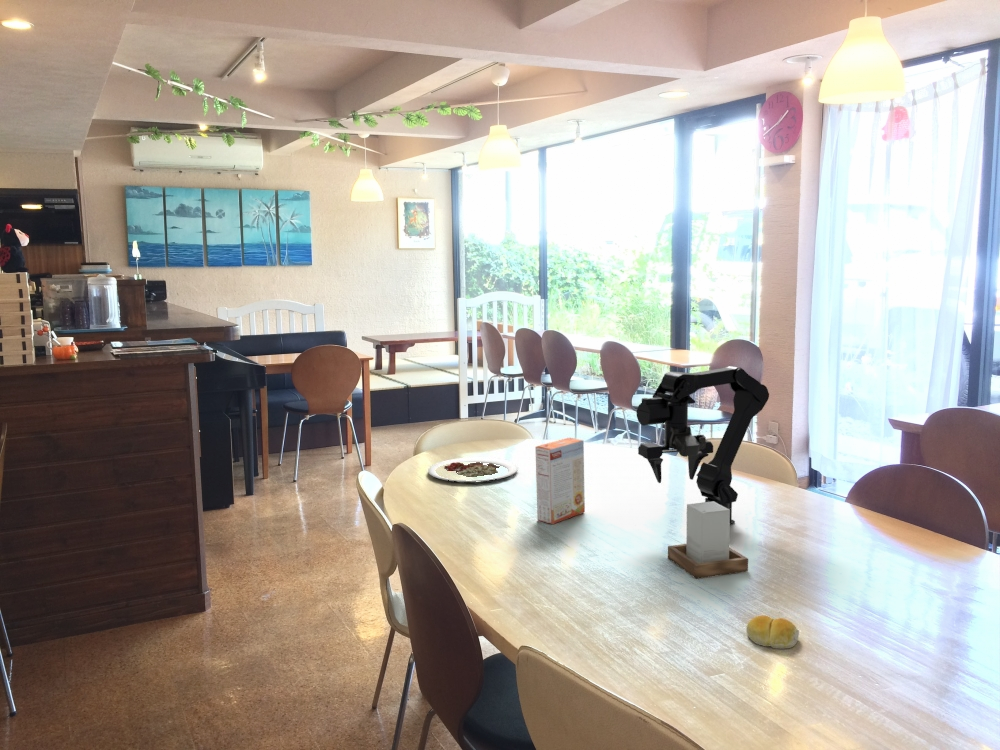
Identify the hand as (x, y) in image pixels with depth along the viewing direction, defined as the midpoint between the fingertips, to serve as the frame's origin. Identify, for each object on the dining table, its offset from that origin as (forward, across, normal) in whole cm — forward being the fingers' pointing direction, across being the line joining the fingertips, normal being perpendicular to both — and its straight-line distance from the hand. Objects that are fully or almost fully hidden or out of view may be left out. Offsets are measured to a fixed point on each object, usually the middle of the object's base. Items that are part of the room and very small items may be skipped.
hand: (675, 481), depth 206 cm
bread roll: (+14, -12, -60) cm, 62 cm away
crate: (+13, -5, -24) cm, 28 cm away
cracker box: (+13, -24, +20) cm, 34 cm away
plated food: (+14, -35, +73) cm, 82 cm away
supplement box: (+12, -4, -23) cm, 26 cm away
